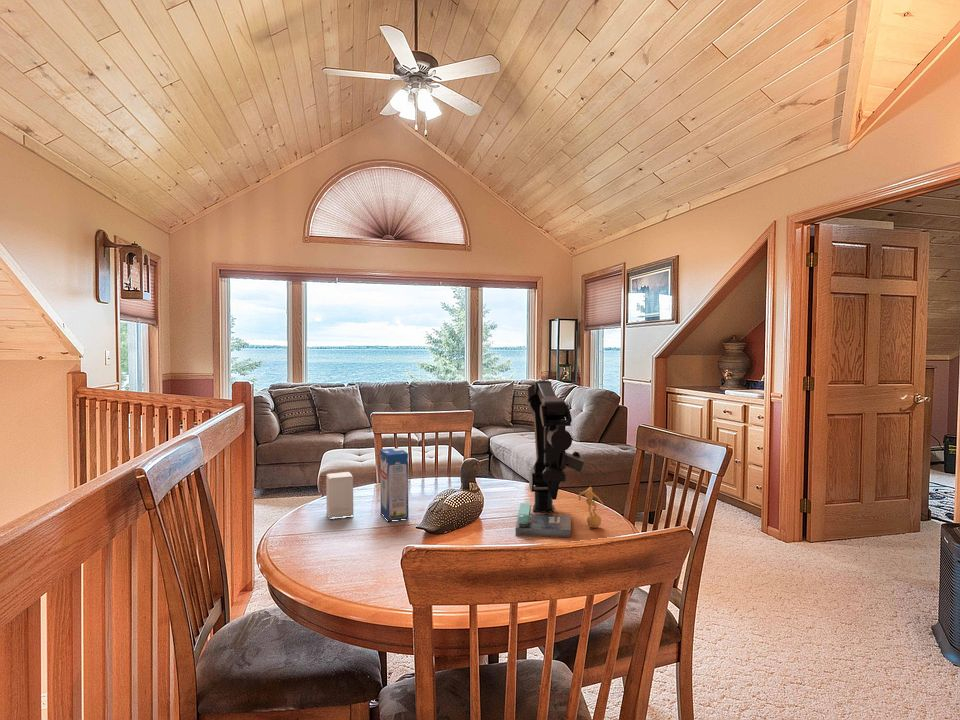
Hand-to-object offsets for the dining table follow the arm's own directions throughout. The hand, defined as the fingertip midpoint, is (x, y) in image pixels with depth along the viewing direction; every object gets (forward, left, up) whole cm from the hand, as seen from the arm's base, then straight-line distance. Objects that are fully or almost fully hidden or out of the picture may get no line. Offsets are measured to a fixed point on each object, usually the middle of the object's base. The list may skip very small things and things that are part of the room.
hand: (554, 499), depth 154 cm
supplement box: (-3, -66, -8) cm, 66 cm away
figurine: (0, +11, -8) cm, 13 cm away
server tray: (+1, -3, -8) cm, 9 cm away
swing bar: (+1, -8, -5) cm, 10 cm away
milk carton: (-4, -49, -8) cm, 49 cm away
